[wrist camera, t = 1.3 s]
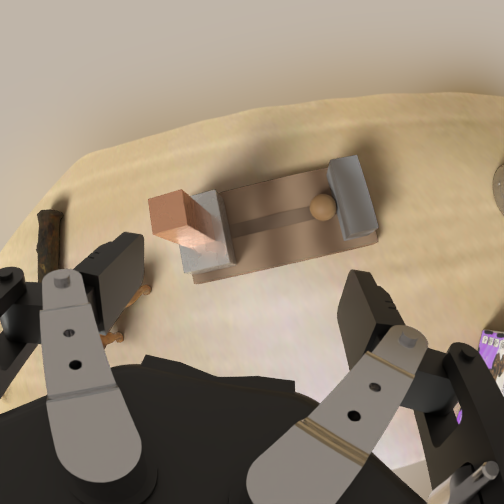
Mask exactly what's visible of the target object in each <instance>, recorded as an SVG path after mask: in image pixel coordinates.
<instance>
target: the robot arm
mask: <svg viewBox="0 0 504 504" xmlns="http://www.w3.org/2000/svg"><path fill="white" fill-rule="evenodd" d="M493 192H494V196H495V200H496V203H497V205H498V207H499V209H500V211H501V212H502V214H503V215H504V165H502V166H501V167H500V168H499V169H498V170H497V171H496V173H495V175H494V179H493ZM143 277H144V237H143V235H141V234H135V233H129V232H123V233H122V234H121V235H120V236H119V237H117V238H116V239H115V240H114V241H113V242H108V243H106V244H103V245H101V246H99V247H98V248H97V249H96V250H95V251H93V253H91V254H90V255H89V256H88V258H85V259H84V260H83V261H82V262H81V263H80V264H78V265H77V266H76V267H75V268H74V269H73V270H72V269H59V270H55V271H52V272H50V273H48V274H47V275H46V276H45V277H44V278H43V280H42V283H39V282H25V277H24V273H23V271H22V270H21V269H20V268H17V267H6V268H2V269H0V321H1V324H2V327H3V331H2V332H1V334H0V399H1V397H2V396H3V394H4V392H5V391H6V389H7V388H8V386H9V385H10V383H11V382H12V381H13V379H14V378H15V376H16V375H17V373H18V372H19V370H20V369H21V368H22V366H23V365H24V363H25V362H26V360H27V359H28V358H29V356H30V355H31V354H32V352H33V351H34V349H35V348H36V347H37V345H38V344H42V355H43V365H44V373H45V381H46V388H47V395H46V396H43V397H41V398H39V399H36V400H34V401H32V402H29V403H27V404H24V405H22V406H19V407H17V408H15V409H12V410H10V411H7V412H5V413H2V414H0V504H504V396H503V394H502V392H501V391H500V389H499V387H498V385H497V383H496V381H495V379H494V377H493V376H492V374H491V372H490V370H489V368H488V367H487V365H486V363H485V361H484V360H483V358H482V356H481V355H480V353H479V352H478V351H477V350H476V349H474V348H473V347H471V346H469V345H467V344H465V343H460V342H456V343H453V344H451V346H450V347H449V349H448V351H447V353H443V352H440V351H436V350H433V349H430V348H427V347H428V341H427V339H426V338H425V336H424V335H423V334H422V333H421V332H419V331H418V330H416V329H414V328H412V327H409V326H406V325H405V323H404V321H403V319H402V318H401V316H400V314H399V312H398V310H396V306H395V304H394V303H393V301H392V299H391V297H390V295H389V294H388V293H387V292H386V291H385V290H384V289H383V288H382V287H381V286H377V284H376V282H375V280H374V279H373V277H372V275H371V273H370V272H365V271H358V270H351V271H350V272H349V274H348V277H347V280H346V284H345V287H344V290H343V293H342V296H341V299H340V302H339V306H338V312H337V319H338V324H339V328H340V332H341V336H342V340H343V344H344V348H345V352H346V357H347V361H348V365H349V370H350V372H349V373H348V374H347V375H346V376H345V377H344V379H343V380H342V381H341V382H340V383H339V384H338V385H337V386H336V387H335V389H334V390H333V391H332V392H331V393H330V394H329V395H328V396H327V397H326V398H325V399H324V400H323V401H322V402H321V403H319V402H317V401H315V400H314V399H312V398H310V397H308V396H305V395H303V394H300V393H297V392H295V381H292V380H283V379H275V378H268V377H261V376H247V377H217V376H213V375H211V374H208V373H206V372H203V371H201V370H198V369H196V368H193V367H191V366H188V365H186V364H183V363H181V362H177V361H172V360H167V359H163V358H159V357H154V356H150V355H145V357H144V359H143V361H142V363H141V364H128V365H120V366H116V367H112V368H110V366H109V363H108V360H107V357H106V354H105V351H104V348H103V345H102V341H101V338H100V335H99V334H101V335H105V336H106V335H107V333H108V332H109V330H110V329H111V327H112V326H113V324H114V323H115V321H116V320H117V319H118V317H119V316H120V314H121V313H122V311H123V310H124V309H125V307H126V306H127V304H128V303H129V301H130V300H131V299H132V297H133V296H134V294H135V293H136V292H137V290H138V289H139V288H140V286H141V284H142V281H143ZM458 401H459V404H460V406H461V409H462V418H461V421H460V423H459V424H458V421H457V419H456V416H455V413H454V411H453V408H454V407H455V405H456V404H457V403H458ZM399 406H402V407H406V408H410V409H413V410H414V414H415V418H416V422H417V425H418V429H419V433H420V437H421V441H422V445H423V449H424V453H425V458H426V462H427V467H428V471H429V476H430V480H431V486H432V492H431V494H430V495H429V497H428V501H427V502H425V501H424V500H423V499H422V498H421V497H420V496H419V495H418V494H417V493H415V492H414V491H413V490H412V489H411V488H410V487H409V486H408V485H407V484H406V483H404V482H403V481H402V480H401V479H400V478H399V477H398V476H397V475H396V474H395V473H393V472H392V471H391V470H390V469H389V468H388V467H387V466H386V465H385V464H384V463H383V462H382V461H381V460H380V459H379V458H378V457H376V456H375V455H374V454H373V453H372V450H373V449H374V447H375V446H376V444H377V442H378V441H379V439H380V438H381V436H382V435H383V433H384V431H385V430H386V428H387V426H388V425H389V423H390V421H391V420H392V418H393V416H394V414H395V413H396V411H397V409H398V407H399Z"/></svg>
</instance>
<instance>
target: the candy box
mask: <svg viewBox="0 0 504 504" xmlns="http://www.w3.org/2000/svg"><path fill="white" fill-rule="evenodd" d="M478 352H479V353H480V355H481V356H482V358H483V360H484V361H485V363H486V365H487V367H488V368H489V370H490V372H491V374H492V376H493V377H494V379H495V381H496V383H497V385H498V387H499V389H500V391H501V392H502V394H503V396H504V332H500V331H493V330H483V331H482V335H481V339H480V343H479V348H478ZM461 418H462V409H461V408H460V411H459V414H458V417H457V421H458V424H459V423H460V421H461Z"/></svg>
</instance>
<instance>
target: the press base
mask: <svg viewBox="0 0 504 504" xmlns="http://www.w3.org/2000/svg"><path fill="white" fill-rule="evenodd" d="M319 194H327V195H329V196H331V197H332V198H333V199H334V201H335V203H336V213H335V215H334V216H333V217H332V218H331V219H329V220H327V221H320V220H317V219H316V218H314V217H313V216H312V214H311V212H310V203H311V200H312V199H313V198H314V197H315V196H317V195H319ZM219 195H220V196H221V197H222V198H223V200H224V205H225V210H226V215H227V220H228V225H229V230H230V235H231V239H232V244H233V249H234V254H235V259H236V264H237V265H236V266H232V267H227V268H223V269H218V270H214V271H209V272H205V273H200V274H196V275H195V274H192V276H193V281H194V284H202V283H206V282H211V281H215V280H220V279H225V278H229V277H234V276H238V275H243V274H247V273H252V272H256V271H261V270H265V269H270V268H274V267H279V266H283V265H287V264H292V263H296V262H300V261H305V260H309V259H313V258H318V257H322V256H326V255H331V254H335V253H339V252H343V251H348V250H352V249H356V248H360V247H364V246H368V245H373V244H375V243H377V242H378V238H377V235H376V231H375V230H376V229H378V228H379V226H378V223H377V219H376V215H375V212H374V208H373V205H372V201H371V198H370V194H369V191H368V188H367V185H366V181H365V178H364V175H363V172H362V169H361V166H360V163H359V160H358V157H357V155H353V156H348V157H343V158H338V159H333V160H330V163H329V167H327V168H322V169H317V170H313V171H308V172H304V173H299V174H295V175H290V176H286V177H281V178H277V179H273V180H269V181H264V182H260V183H256V184H252V185H248V186H244V187H240V188H236V189H232V190H228V191H224V192H220V193H219Z"/></svg>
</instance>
